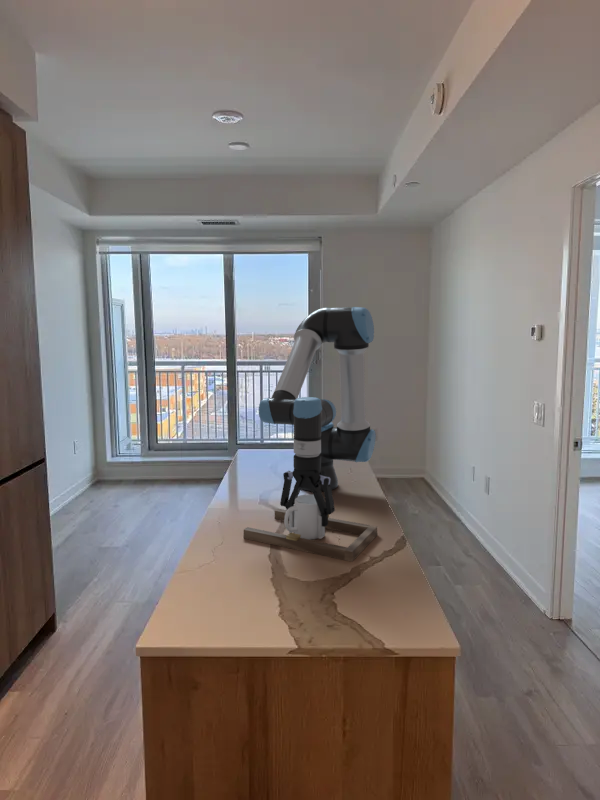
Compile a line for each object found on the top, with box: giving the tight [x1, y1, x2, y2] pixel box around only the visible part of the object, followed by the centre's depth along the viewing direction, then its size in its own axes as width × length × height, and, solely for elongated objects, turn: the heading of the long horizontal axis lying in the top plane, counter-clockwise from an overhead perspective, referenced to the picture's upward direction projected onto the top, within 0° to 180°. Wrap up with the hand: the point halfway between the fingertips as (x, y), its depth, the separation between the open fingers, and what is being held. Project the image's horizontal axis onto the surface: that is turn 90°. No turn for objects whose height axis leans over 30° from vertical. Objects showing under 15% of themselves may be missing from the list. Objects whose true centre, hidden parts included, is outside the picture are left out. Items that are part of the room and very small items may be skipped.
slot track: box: [243, 508, 378, 562], centre depth 146 cm, size 22×32×3 cm
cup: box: [283, 494, 321, 540], centre depth 145 cm, size 8×12×10 cm
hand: (306, 533), depth 146 cm, fingers closed on cup, 8 cm apart
